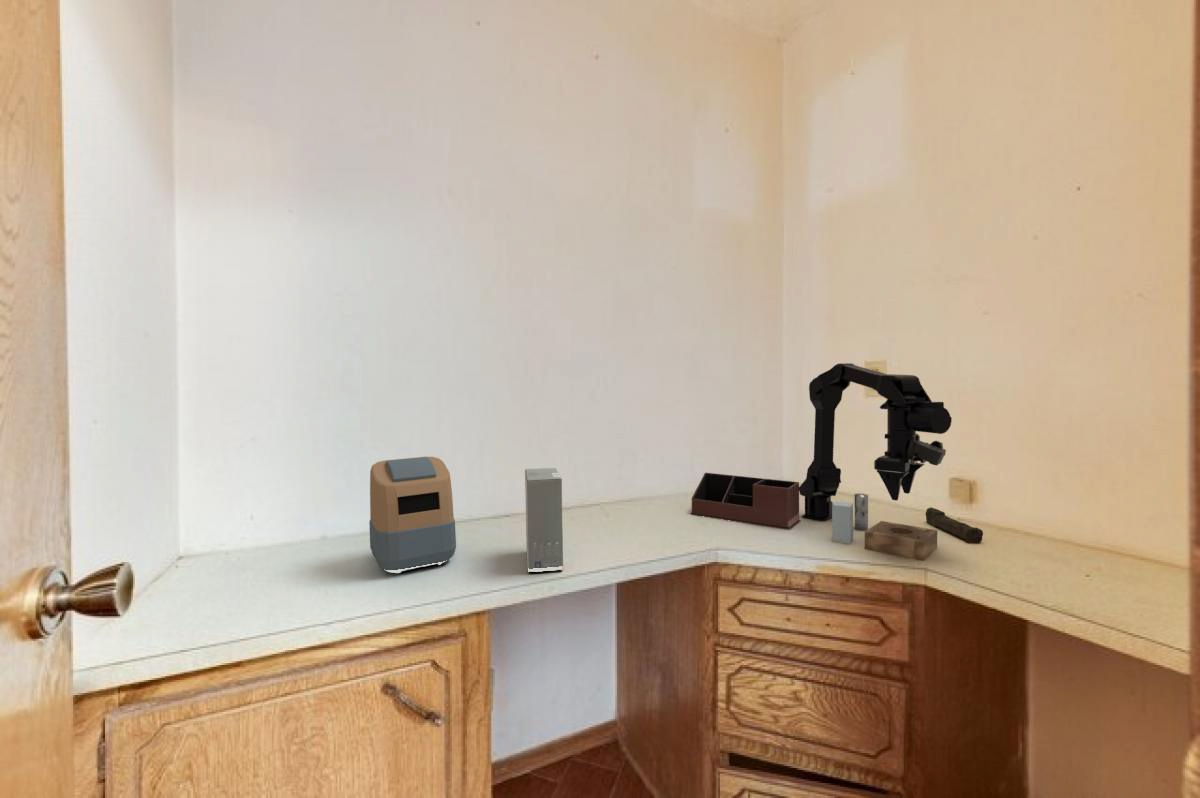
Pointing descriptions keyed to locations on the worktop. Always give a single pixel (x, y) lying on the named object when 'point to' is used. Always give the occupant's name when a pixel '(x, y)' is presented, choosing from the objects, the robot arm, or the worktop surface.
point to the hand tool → (953, 526)
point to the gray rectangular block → (842, 522)
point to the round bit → (861, 512)
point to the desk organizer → (748, 500)
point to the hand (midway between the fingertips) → (901, 496)
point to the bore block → (901, 540)
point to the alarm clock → (411, 513)
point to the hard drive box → (543, 518)
